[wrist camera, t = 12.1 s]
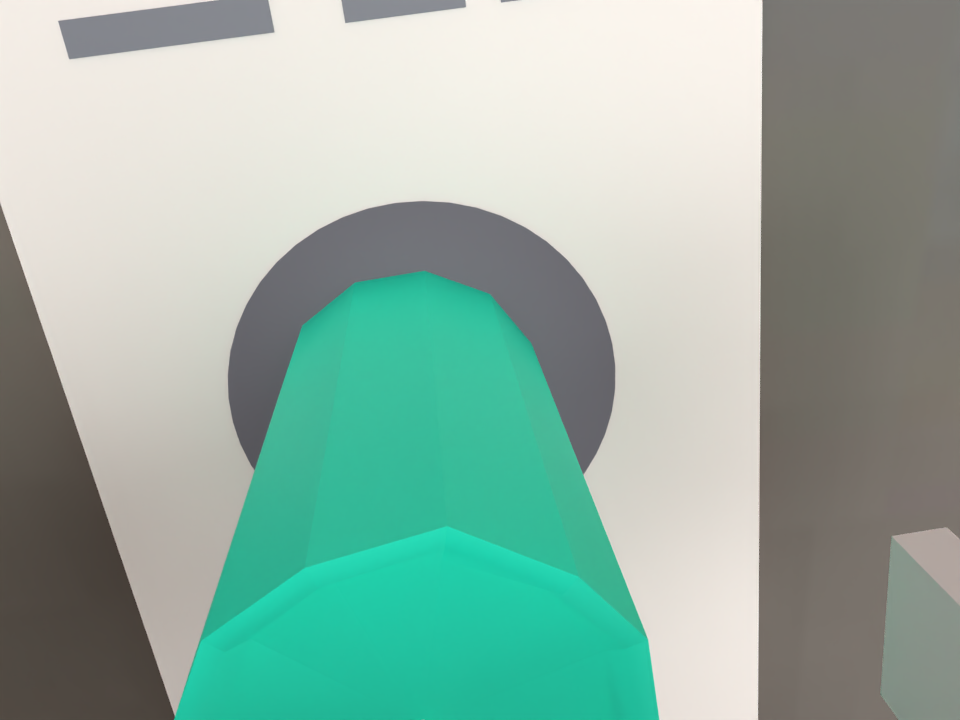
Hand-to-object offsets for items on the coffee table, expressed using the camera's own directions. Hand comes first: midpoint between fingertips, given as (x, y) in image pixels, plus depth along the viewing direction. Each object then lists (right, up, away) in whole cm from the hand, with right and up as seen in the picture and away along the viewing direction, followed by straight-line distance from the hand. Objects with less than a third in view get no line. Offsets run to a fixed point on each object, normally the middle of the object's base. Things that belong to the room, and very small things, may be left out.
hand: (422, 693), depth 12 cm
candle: (-1, +4, +9) cm, 9 cm away
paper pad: (-1, +4, +9) cm, 10 cm away
